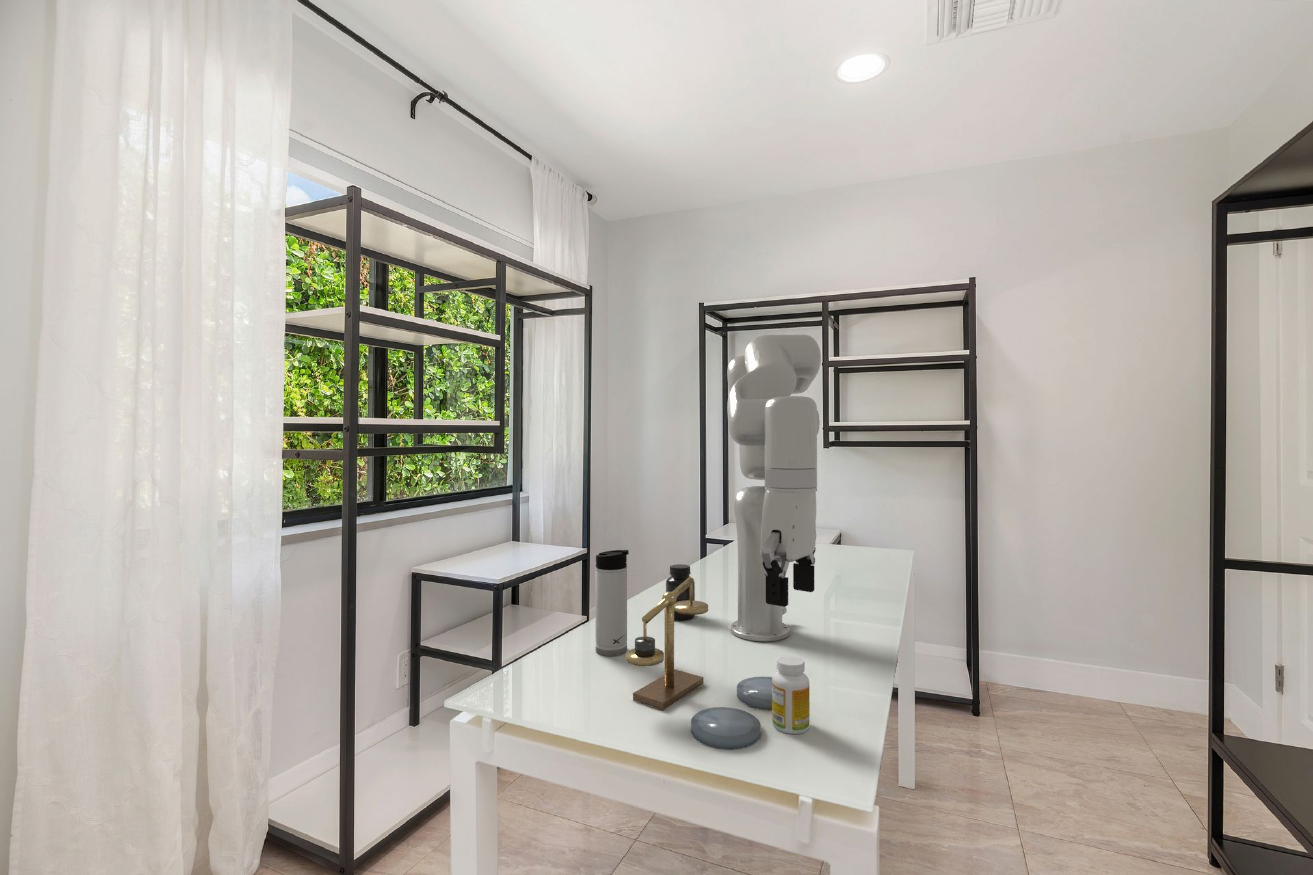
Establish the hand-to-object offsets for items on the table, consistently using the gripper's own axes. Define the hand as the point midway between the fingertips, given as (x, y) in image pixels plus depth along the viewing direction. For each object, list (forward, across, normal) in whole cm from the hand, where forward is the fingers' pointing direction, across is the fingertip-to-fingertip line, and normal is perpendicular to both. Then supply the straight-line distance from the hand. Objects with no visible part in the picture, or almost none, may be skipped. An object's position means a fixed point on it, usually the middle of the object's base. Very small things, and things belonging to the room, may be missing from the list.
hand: (790, 597), depth 87 cm
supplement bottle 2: (+19, 0, 0) cm, 19 cm away
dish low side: (+19, +7, -7) cm, 21 cm away
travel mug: (+19, -8, -41) cm, 46 cm away
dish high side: (+19, -7, -7) cm, 22 cm away
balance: (+19, +1, -21) cm, 28 cm away
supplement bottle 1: (+19, -34, -42) cm, 58 cm away
